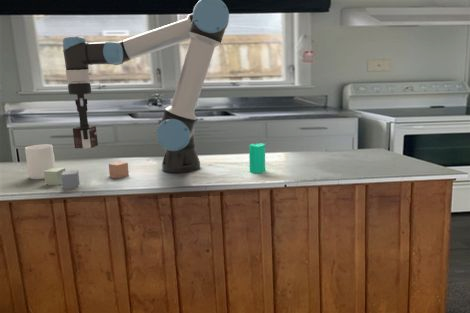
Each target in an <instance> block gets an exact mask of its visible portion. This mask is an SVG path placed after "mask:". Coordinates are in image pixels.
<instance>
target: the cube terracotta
mask: <svg viewBox="0 0 470 313" xmlns="http://www.w3.org/2000/svg"><path fill="white" fill-rule="evenodd" d="M108 171H109V172H108V173H109V177H111V178H115V179H121V178H125V177H128V176H130V175H129V163H128V162H126V161H115V162H111V163H108Z"/></svg>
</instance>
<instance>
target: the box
mask: <svg viewBox="0 0 470 313" xmlns="http://www.w3.org/2000/svg"><path fill="white" fill-rule="evenodd" d="M80 127H81V126H78V127H73V128H72V137H73V143H74V149H83V145H82V137H81V130H80V131H79V128H80ZM97 133H98V132H97V126H96V125H90V126H89V135H90V144H91V148H90V149H92V148H94V147H95V148H96V147H98V146H99V142H98V141H99V140H98V135H97Z"/></svg>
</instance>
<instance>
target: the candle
mask: <svg viewBox="0 0 470 313" xmlns="http://www.w3.org/2000/svg"><path fill="white" fill-rule="evenodd" d="M248 149H249V172H250V174H264V173H265V172H266V143H263V142H262V143H261V142H260V143H251V144H249V145H248Z"/></svg>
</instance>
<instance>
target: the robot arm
mask: <svg viewBox="0 0 470 313" xmlns="http://www.w3.org/2000/svg"><path fill="white" fill-rule="evenodd" d="M229 20H230V13H229V9H228V7H227V5H226V4H225V2H224V1H223V0H198V2H197V3H196V4H195V5H194V6H193V9H192V13H190V14H187V17H186V18H184V19H181V20H178V21H175V22H172V23H170V24H169V23H168V24H167V25H163V26H161V27H157V28H154V29H152V30H148V31H146V32H143V33H140V34H138V35H134V36H131V37H128V38H126V39H124V40H120V41H110V40H107V41H98V42H96V41H95V42H87V41H86V38H85V37H84V36H65V37H64V38H63V39H62V49H63V50H62V51H63V58H64V63H65V64H64V66H65V73H66V74H65V75H66V82H67V83H68V84H67V89H68V90H67V91H68V94H69V95H76V99H74V102H75V106H76V111H77V113H78V117H79V127H80V128H79V131H80V130H81V137H82V145H83V148H82V149H92V148H91V144H90V135H89V126H91V125H90V123H89V122H88V121H89V120H88V98H85V95H87V94H89V95H90V94H91V93H92V87H91V83H90V79H91V78H90V76H92V72H89V68H90V67H89V65H90V66H93V65H94V66H95V65H114V66H120V65H123V64H124V63H125V62H128V61H131V60H133V59H137V58H140V57H142V56H145V55H149V54H152V53H155V52H157V51H160V50H163V49H166V48H169V47H172V46H175V45H179V44H181V43H184V42H188V41H190V42H189V45H188V48H187V51H186V54H185V57H184V61H183V64H182V68H181V72H180V74H179V78H178V80H177V84H176V86H175V87H176V88H175V91H174V94H173V97H172V100H171V104H170V105H169V106H167V107H165V109H164V112H163V114H162V118H161V121H160V123H159V125H158V126H157V128H156V139H157V142H158V143H159V145H160V146H161V147H162V148H163V149H165V152H164V156H163V160H162V163H161V169H162V171H164V172H167V173H191V172H194V171H197V170H199V169H201V161H200V158H199V156H198V152H197V151H196V145H195V144H196V141H195V140H196V139H195V124H196V121H197V116H196V114H195V110H196V107H197V104H198V101H199V98H200V95H201V92H202V89H203V86H204V83H205V79H206V76H207V73H208V69H209V67H210V64H211V61H212V58H213V54H214V51H215V48H216V47H218V46H220V45H221V44H222V41H223V38H224V35H225V32H226V29H227V27H228V26H229Z"/></svg>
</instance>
